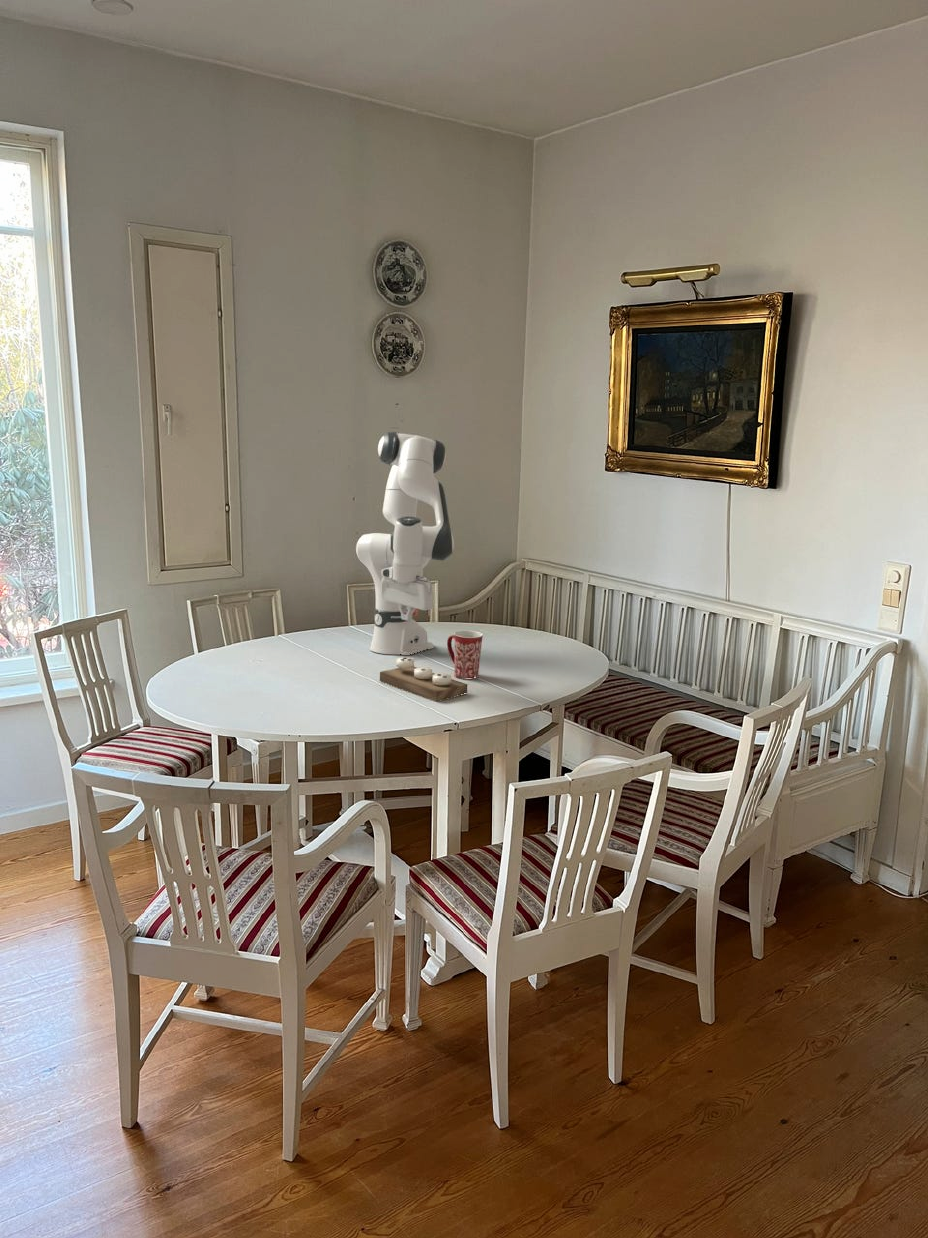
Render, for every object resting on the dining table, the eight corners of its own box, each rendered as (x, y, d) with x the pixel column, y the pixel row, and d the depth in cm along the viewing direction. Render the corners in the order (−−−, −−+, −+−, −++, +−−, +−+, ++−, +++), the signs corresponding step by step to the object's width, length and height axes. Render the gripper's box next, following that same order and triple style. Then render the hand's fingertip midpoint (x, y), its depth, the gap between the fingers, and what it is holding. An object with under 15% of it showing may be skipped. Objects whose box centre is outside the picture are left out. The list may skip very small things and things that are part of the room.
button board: (410, 675, 288) (410, 665, 288) (467, 694, 271) (467, 684, 270) (379, 681, 280) (379, 671, 279) (436, 701, 262) (436, 691, 262)
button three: (406, 662, 283) (406, 655, 283) (417, 666, 280) (417, 659, 279) (392, 665, 280) (393, 658, 279) (404, 669, 276) (404, 662, 276)
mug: (487, 677, 289) (489, 634, 286) (466, 682, 283) (468, 638, 280) (458, 668, 298) (460, 626, 295) (437, 673, 292) (439, 630, 289)
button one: (423, 673, 278) (424, 666, 278) (435, 677, 275) (435, 669, 274) (410, 676, 275) (410, 668, 274) (422, 680, 271) (422, 672, 271)
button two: (442, 679, 273) (442, 672, 272) (454, 683, 269) (454, 676, 268) (428, 682, 269) (428, 674, 269) (440, 686, 265) (441, 679, 265)
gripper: (439, 577, 269) (438, 625, 272) (393, 567, 283) (393, 612, 286) (423, 580, 264) (421, 628, 268) (377, 569, 279) (376, 615, 282)
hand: (406, 619), depth 277 cm, fingers closed
